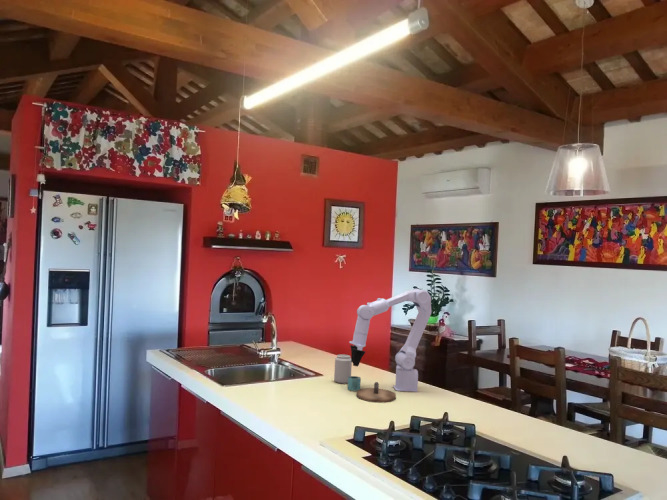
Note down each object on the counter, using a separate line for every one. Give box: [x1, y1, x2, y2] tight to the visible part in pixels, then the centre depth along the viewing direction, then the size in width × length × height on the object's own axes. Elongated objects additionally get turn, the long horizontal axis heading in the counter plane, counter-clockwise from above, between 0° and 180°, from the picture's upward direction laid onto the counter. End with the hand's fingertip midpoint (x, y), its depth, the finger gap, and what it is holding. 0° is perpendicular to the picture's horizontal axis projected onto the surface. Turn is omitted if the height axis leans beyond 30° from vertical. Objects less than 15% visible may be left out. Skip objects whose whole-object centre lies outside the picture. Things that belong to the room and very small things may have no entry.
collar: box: [347, 375, 362, 392], centre depth 228 cm, size 5×5×5 cm
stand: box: [355, 381, 397, 403], centre depth 218 cm, size 16×16×6 cm
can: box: [333, 354, 353, 385], centre depth 240 cm, size 8×8×12 cm
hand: (354, 364), depth 229 cm, fingers open, 7 cm apart
